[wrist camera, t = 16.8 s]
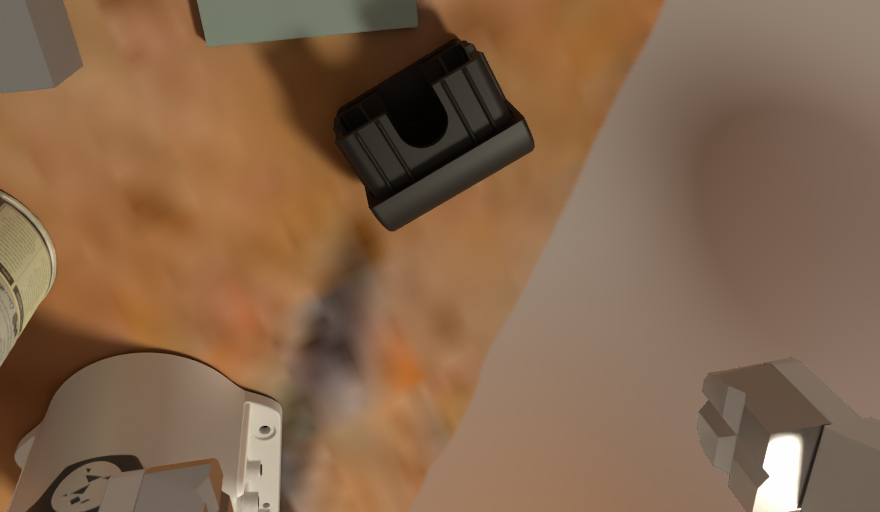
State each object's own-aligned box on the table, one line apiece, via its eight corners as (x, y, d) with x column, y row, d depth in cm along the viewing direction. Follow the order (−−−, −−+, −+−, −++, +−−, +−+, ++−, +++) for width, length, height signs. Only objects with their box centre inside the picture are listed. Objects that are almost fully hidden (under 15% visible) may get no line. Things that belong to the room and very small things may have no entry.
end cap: (384, 203, 45) (397, 250, 39) (326, 115, 42) (329, 152, 36) (514, 127, 44) (547, 163, 38) (466, 30, 41) (493, 53, 35)
